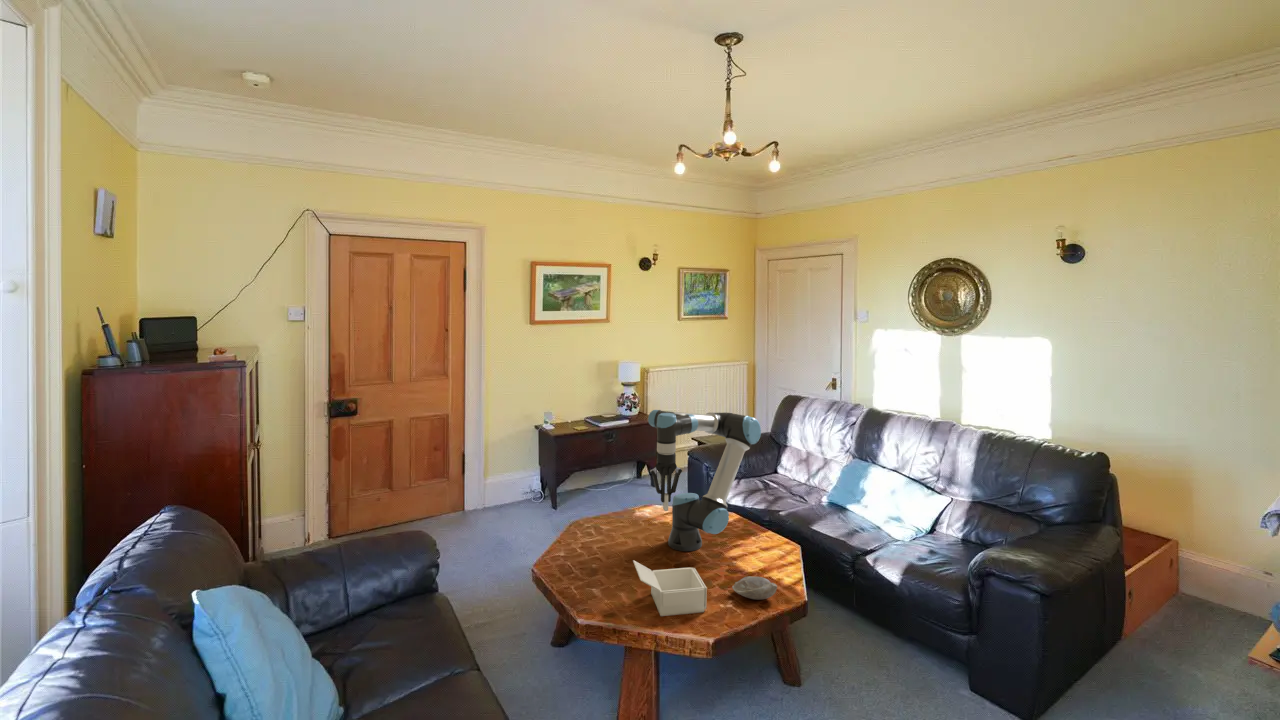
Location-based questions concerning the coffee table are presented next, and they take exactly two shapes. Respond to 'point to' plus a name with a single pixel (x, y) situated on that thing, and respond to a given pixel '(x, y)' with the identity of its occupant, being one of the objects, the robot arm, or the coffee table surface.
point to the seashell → (755, 587)
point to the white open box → (679, 591)
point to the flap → (645, 575)
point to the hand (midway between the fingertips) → (665, 509)
